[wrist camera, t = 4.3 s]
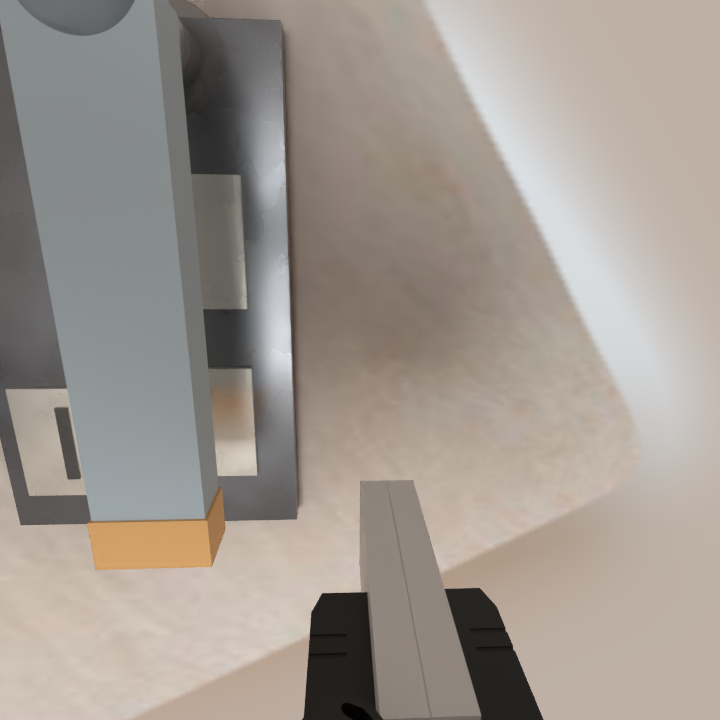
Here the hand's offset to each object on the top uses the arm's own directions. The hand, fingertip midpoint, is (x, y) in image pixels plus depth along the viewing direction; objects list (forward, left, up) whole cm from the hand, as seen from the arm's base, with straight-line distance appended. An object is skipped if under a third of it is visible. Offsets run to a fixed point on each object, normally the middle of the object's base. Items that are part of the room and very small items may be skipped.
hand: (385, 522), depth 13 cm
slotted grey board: (-4, -11, -12) cm, 17 cm away
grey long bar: (-6, -8, -5) cm, 12 cm away
